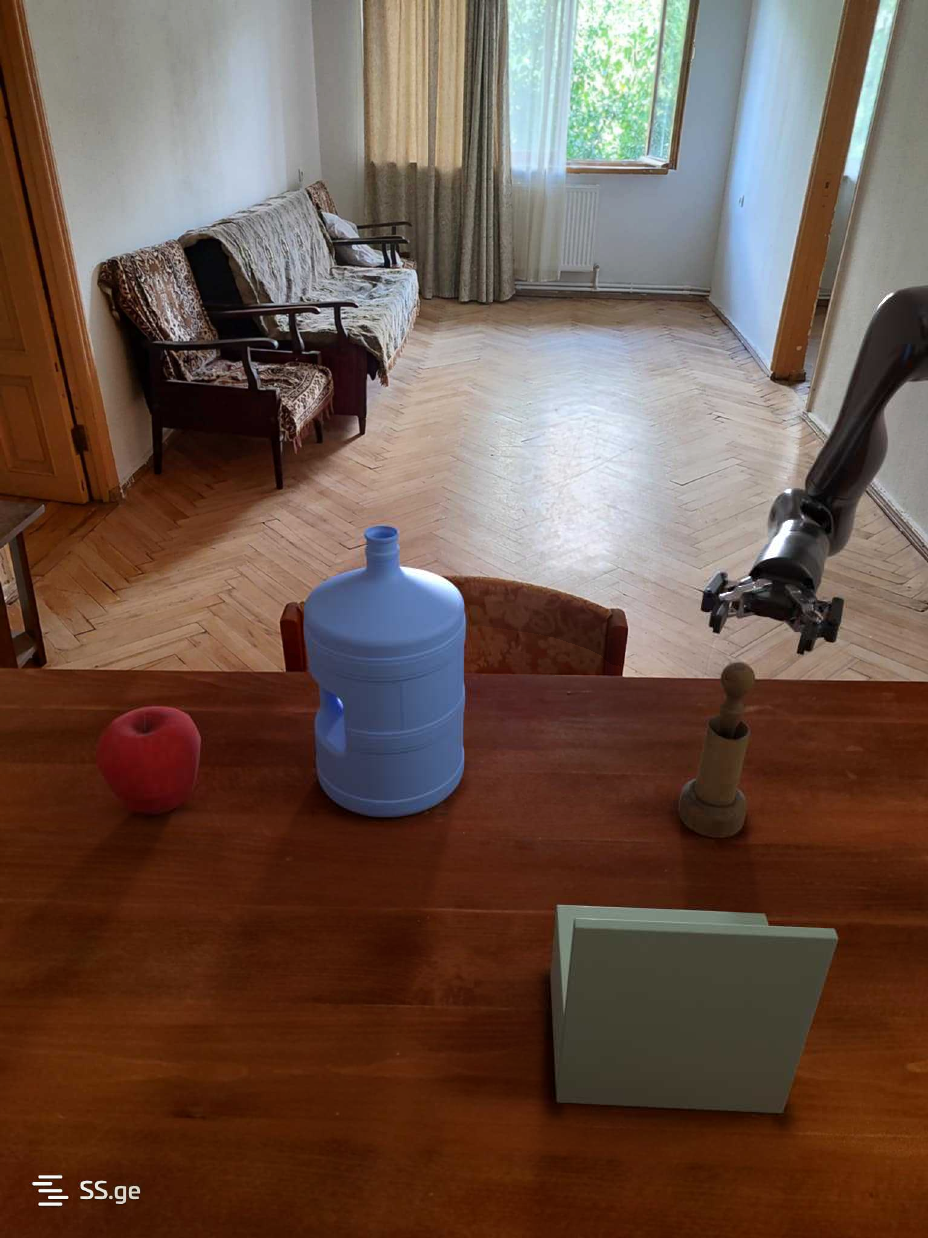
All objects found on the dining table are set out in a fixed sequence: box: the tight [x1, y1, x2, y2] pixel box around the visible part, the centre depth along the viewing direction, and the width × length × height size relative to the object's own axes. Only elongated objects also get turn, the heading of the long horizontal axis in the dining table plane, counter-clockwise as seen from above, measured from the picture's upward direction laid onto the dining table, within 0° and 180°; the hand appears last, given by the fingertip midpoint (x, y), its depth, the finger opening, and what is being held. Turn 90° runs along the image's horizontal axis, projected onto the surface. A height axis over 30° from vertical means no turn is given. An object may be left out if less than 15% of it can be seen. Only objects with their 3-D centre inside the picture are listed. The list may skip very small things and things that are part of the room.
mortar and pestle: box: [677, 661, 756, 839], centre depth 85 cm, size 7×6×18 cm
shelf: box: [549, 904, 839, 1114], centre depth 63 cm, size 16×11×18 cm
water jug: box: [303, 525, 467, 818], centre depth 88 cm, size 16×16×28 cm
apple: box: [94, 705, 202, 815], centre depth 87 cm, size 10×10×11 cm
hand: (758, 636), depth 90 cm, fingers open, 8 cm apart
